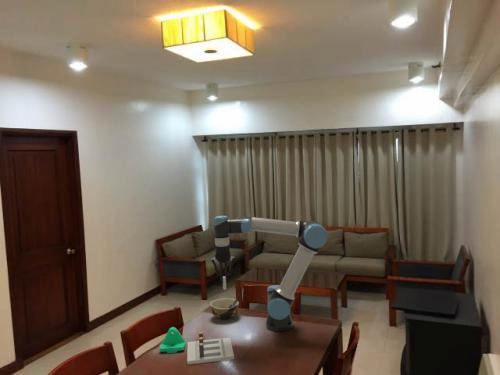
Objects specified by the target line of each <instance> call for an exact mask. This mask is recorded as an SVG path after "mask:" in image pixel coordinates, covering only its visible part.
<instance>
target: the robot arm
mask: <svg viewBox="0 0 500 375" xmlns="http://www.w3.org/2000/svg"><path fill="white" fill-rule="evenodd" d="M213 230H214V245H215V246H214V249H215V255H214V257H213V258H211V259H210V261H211V263H212V264H213V267H214V271H215V274H216V276H217V278H220V284H222V288H223V289H222V290H223V291H226V290H227V284H228V283H229V277H230V276H232V273H233V266H234V262H235V260H236V258H235V256H232V254H231V251H230V250H231V248H230V236H229V235H231V234H232V235H233V234H248V233H251V232H252V231H253V232H262V233H270V234H279V235H288V236H295V237H296V238H298V239H299V241H298V242H297V243H298V246H299V247H298V249H297V251H296V253H294V254H295V255H294V257H293V259H292V261H291V262H290V264H289V267H288V268H287V270H286V272H285V275H284V276H283V279H282V280H281V282H280V284H276V285H275V284H273V285H269V286H268V287H267V290H266V292H267V304H266V305H267V306H266V308H267V309H266V310H267V317H266V321H265V327H266V329H267V330H269V331H271V332H285V331H286V332H287V331H289V330H291V329H292V328H293V326H294V323H293V319H292V317H291V314H290V313H291V307H292V306H293V303H294V301H295V293H296V290H297V289H298V287H299V285H300V283H301V280H303V277H304V275H305V273H306V271H307V269H308V267H309V265H310V263H311V262H312V259H313V258H314V255H316V254H318V253H320V250H321V249H322V247H323V246H324V245H325V244H326V242H327V239H328V233H327V230H326V227H324V226H323V225H322V224H321V223H320V222H319V221H314V220H297V221H291V220H282V219H272V218H264V217H254V216H246V215H243V214H241V215H239V216H237V217H236V218H235V219H234V218H233V219H229V217H228V215H217V216H215V217H213ZM229 260H230V264H229V268H228V262H229ZM216 261H217V262H218V263H219V269H218V266H217V263H216ZM223 264H224V270H223ZM228 269H229V270H228ZM223 271H224V272H223ZM224 275H225V276H224Z"/></svg>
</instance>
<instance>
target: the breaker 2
mask: <svg viewBox="0 0 500 375" xmlns="http://www.w3.org/2000/svg"><path fill="white" fill-rule="evenodd" d="M199 351H200V356H204V347H203V343H200V344H199Z"/></svg>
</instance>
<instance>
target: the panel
mask: <svg viewBox="0 0 500 375" xmlns="http://www.w3.org/2000/svg"><path fill="white" fill-rule="evenodd" d="M203 346H204V356H200V351H199V340H195V341H188V342H187V354H186V356H187V357H186V362H187V365H188V366H189V365H195V364H196V365H197V364H204V363H205V364H206V363H213V362H224V361H231V360H235V355H234V350H233V346H232V342H231V337H223V338H213V339H203Z"/></svg>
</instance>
